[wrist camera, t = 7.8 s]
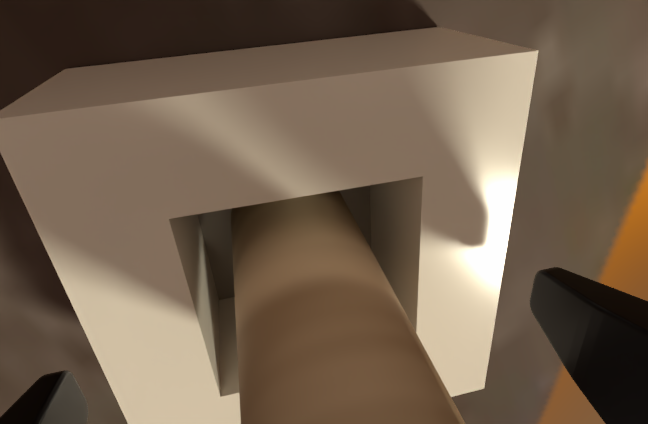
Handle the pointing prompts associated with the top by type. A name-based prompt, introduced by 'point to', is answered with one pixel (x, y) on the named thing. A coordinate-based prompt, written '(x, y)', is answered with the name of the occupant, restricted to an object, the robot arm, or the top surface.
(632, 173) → the top surface
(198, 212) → the socket
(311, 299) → the dowel
